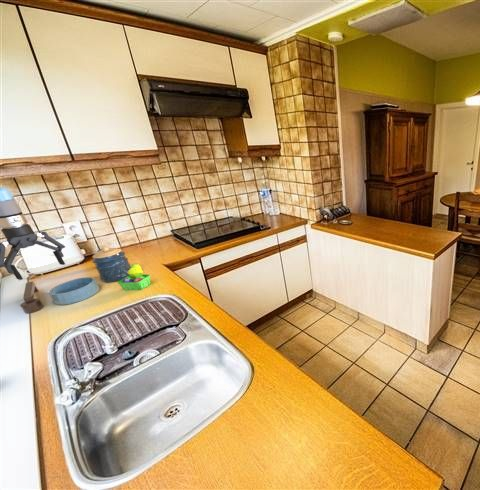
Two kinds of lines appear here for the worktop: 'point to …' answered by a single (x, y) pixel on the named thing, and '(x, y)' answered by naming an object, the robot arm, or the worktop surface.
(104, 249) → the canister
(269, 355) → the worktop surface
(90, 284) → the bowl
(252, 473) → the worktop surface
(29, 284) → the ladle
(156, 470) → the worktop surface
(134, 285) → the fruit basket
